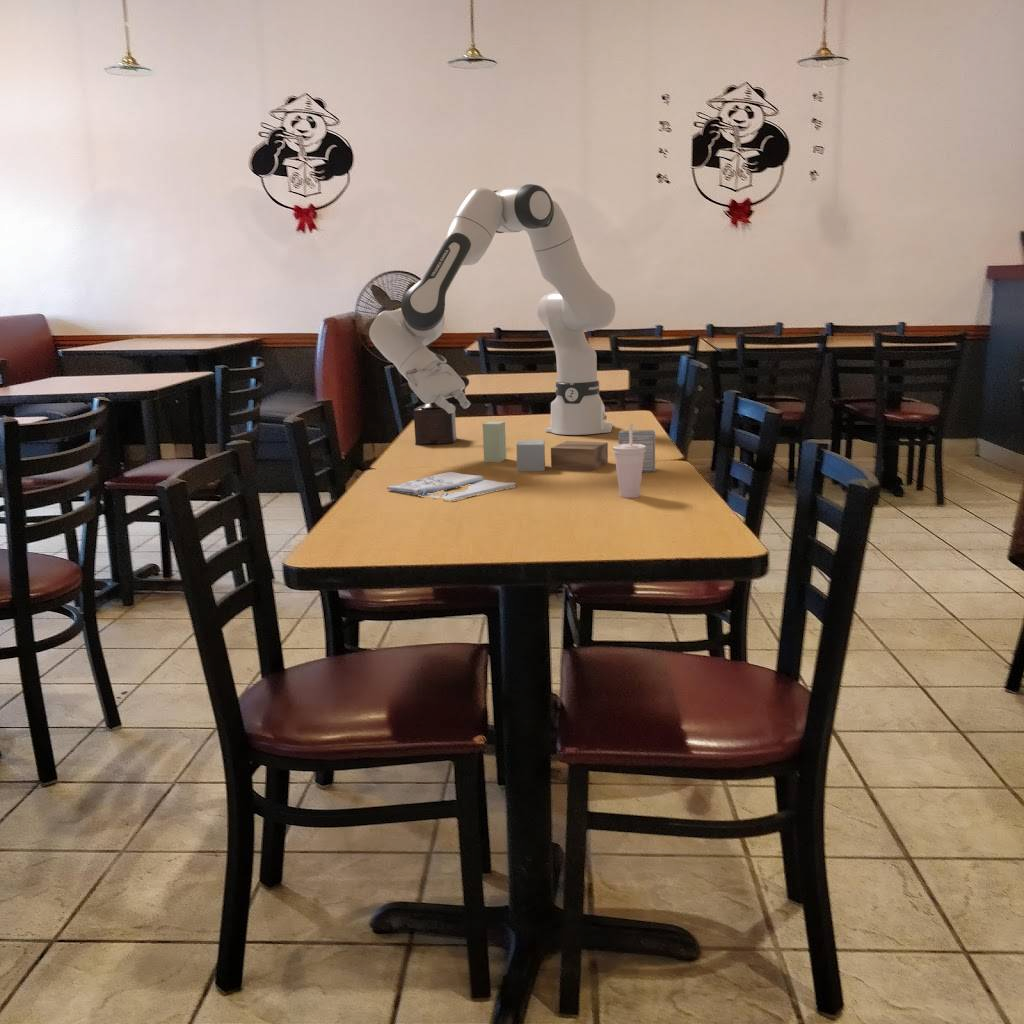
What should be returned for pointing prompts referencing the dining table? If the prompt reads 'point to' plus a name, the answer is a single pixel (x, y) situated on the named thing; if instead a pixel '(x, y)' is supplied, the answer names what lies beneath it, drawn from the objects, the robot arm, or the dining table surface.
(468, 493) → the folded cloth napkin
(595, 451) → the walnut block
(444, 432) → the coffee grinder
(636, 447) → the smoothie
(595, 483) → the dining table surface
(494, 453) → the sage pillar
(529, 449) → the slate block
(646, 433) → the medicine box
